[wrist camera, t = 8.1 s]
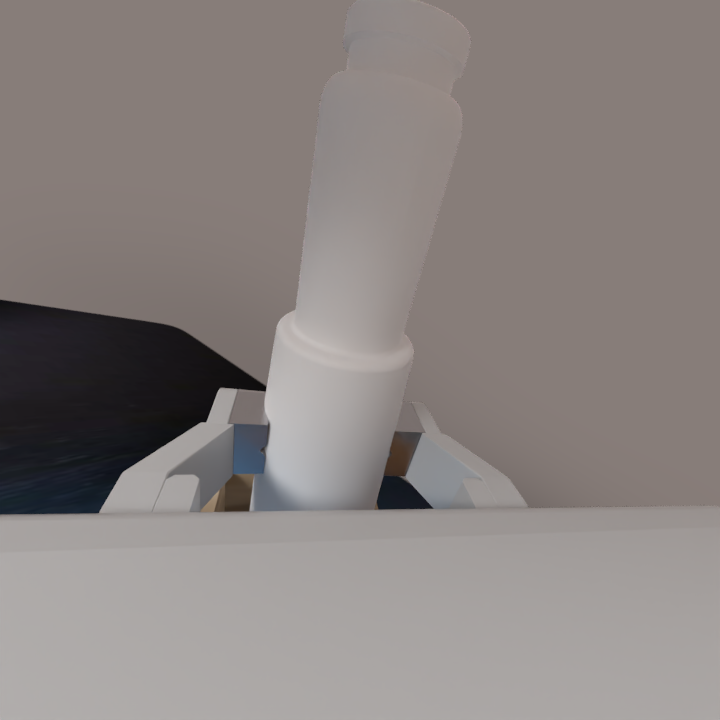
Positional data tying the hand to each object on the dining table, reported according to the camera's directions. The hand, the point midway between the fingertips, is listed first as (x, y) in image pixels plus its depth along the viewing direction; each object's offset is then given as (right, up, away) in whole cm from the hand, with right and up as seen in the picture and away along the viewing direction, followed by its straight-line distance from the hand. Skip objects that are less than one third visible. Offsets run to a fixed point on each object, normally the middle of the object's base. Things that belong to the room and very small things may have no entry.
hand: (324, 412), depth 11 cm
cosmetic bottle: (-2, -12, +5) cm, 13 cm away
